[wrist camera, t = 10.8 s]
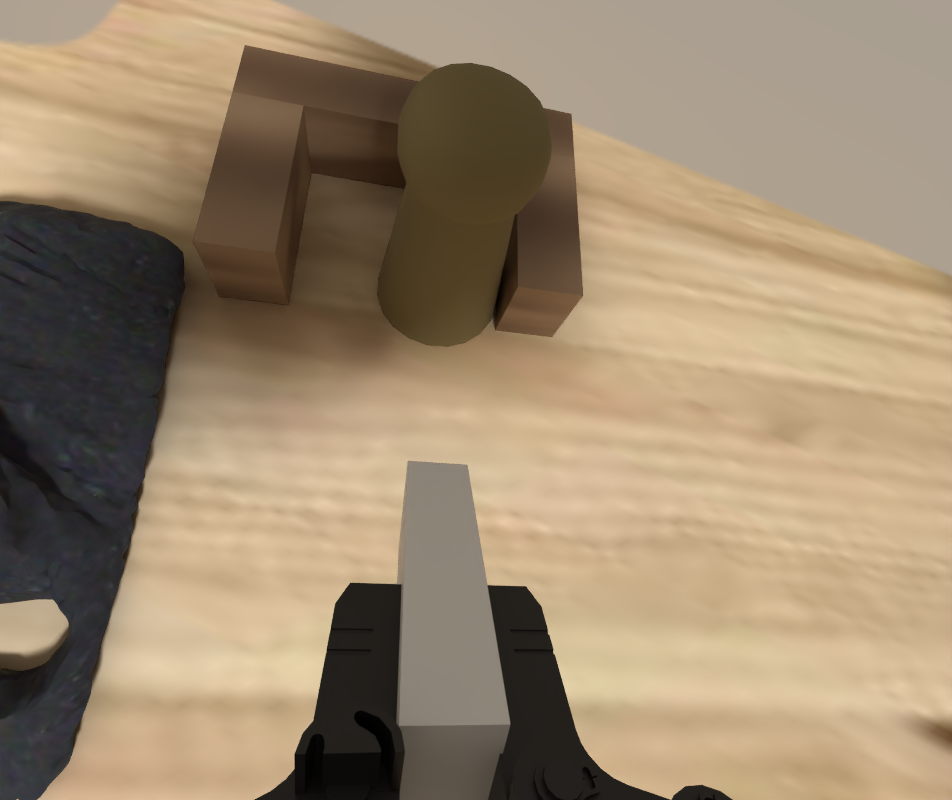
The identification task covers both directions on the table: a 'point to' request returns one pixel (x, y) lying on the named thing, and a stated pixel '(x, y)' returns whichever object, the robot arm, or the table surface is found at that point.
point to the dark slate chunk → (72, 448)
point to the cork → (459, 198)
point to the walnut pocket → (365, 159)
